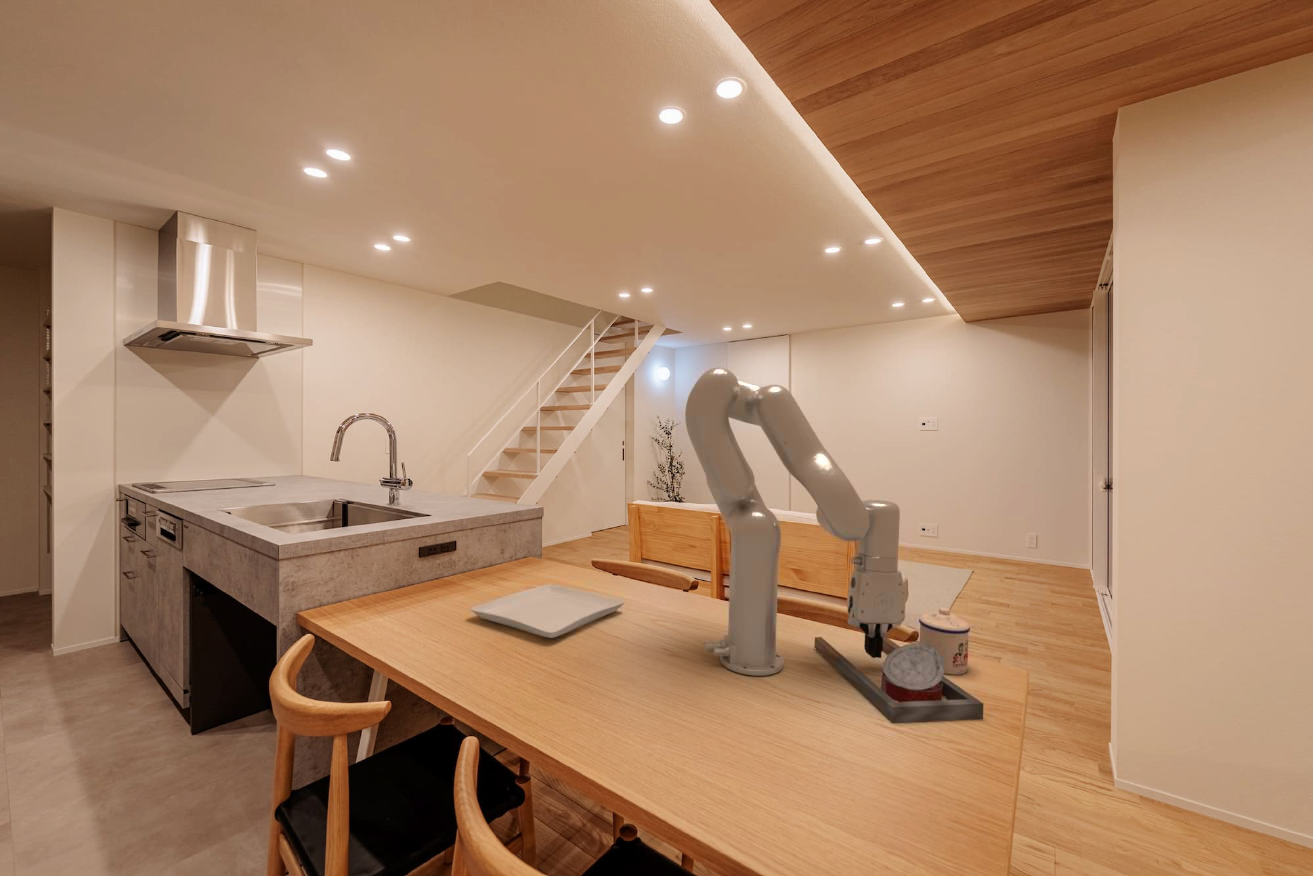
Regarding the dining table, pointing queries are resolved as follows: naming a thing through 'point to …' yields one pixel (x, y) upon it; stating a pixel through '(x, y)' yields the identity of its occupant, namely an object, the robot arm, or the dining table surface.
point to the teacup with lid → (946, 639)
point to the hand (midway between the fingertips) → (873, 655)
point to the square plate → (548, 609)
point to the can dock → (916, 711)
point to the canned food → (913, 673)
